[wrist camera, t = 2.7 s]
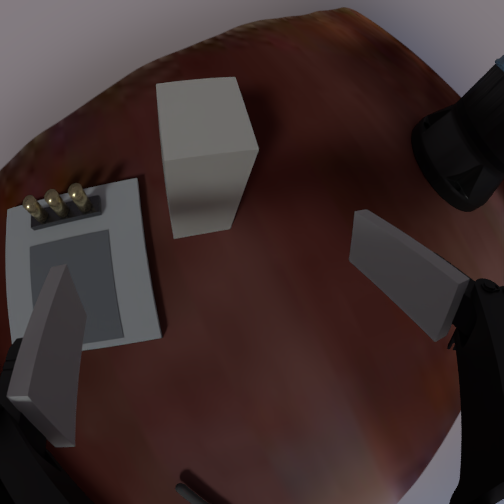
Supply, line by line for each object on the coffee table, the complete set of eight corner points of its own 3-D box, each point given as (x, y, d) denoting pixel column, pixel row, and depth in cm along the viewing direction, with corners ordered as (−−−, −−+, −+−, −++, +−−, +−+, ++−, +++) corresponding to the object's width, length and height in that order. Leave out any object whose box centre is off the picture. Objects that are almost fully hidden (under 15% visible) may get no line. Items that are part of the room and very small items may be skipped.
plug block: (216, 171, 28) (235, 77, 17) (230, 228, 27) (258, 149, 16) (164, 178, 27) (156, 84, 16) (173, 238, 26) (164, 161, 14)
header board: (138, 183, 26) (136, 177, 25) (162, 337, 23) (161, 337, 22) (12, 213, 23) (7, 208, 22) (19, 358, 20) (13, 358, 19)
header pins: (101, 198, 24) (89, 177, 21) (101, 215, 24) (89, 195, 20) (34, 214, 23) (16, 196, 19) (34, 230, 22) (15, 214, 19)
